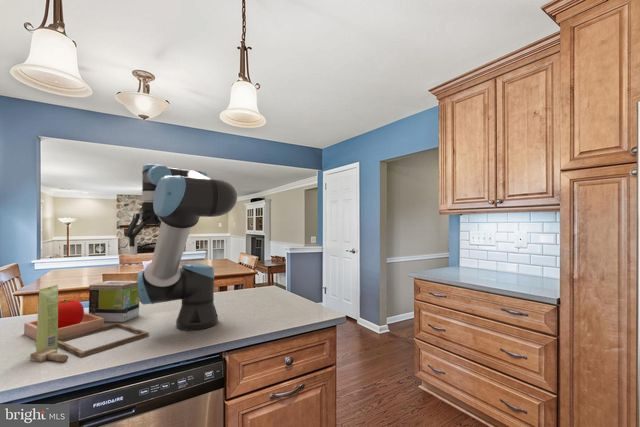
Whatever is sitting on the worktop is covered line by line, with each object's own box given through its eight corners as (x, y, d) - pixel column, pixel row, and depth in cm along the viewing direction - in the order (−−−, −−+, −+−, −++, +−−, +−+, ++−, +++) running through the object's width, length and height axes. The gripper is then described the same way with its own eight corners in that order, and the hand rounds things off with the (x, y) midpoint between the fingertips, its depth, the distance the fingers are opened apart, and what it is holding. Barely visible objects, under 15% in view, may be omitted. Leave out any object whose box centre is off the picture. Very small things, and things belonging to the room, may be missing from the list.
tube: (34, 350, 94) (36, 286, 94) (55, 345, 98) (57, 284, 98) (37, 355, 90) (39, 289, 91) (59, 350, 94) (61, 286, 95)
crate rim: (148, 335, 106) (148, 332, 106) (80, 357, 89) (80, 353, 89) (118, 325, 116) (118, 322, 116) (52, 343, 99) (52, 339, 99)
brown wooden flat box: (103, 328, 113) (103, 318, 113) (44, 344, 98) (45, 332, 98) (80, 320, 122) (81, 311, 122) (24, 333, 107) (24, 323, 108)
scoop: (72, 358, 88) (72, 352, 88) (57, 364, 84) (57, 358, 84) (46, 354, 91) (46, 348, 91) (30, 360, 87) (30, 353, 87)
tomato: (83, 321, 118) (83, 294, 119) (84, 330, 109) (85, 300, 109) (43, 328, 111) (44, 299, 111) (41, 337, 102) (42, 306, 102)
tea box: (139, 315, 130) (140, 280, 130) (122, 323, 120) (123, 285, 120) (107, 314, 131) (108, 279, 132) (87, 321, 121) (88, 284, 122)
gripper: (174, 204, 139) (173, 250, 138) (114, 200, 118) (113, 255, 117) (184, 203, 135) (183, 251, 135) (125, 199, 114) (123, 256, 113)
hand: (151, 253), depth 126 cm, fingers open, 13 cm apart
